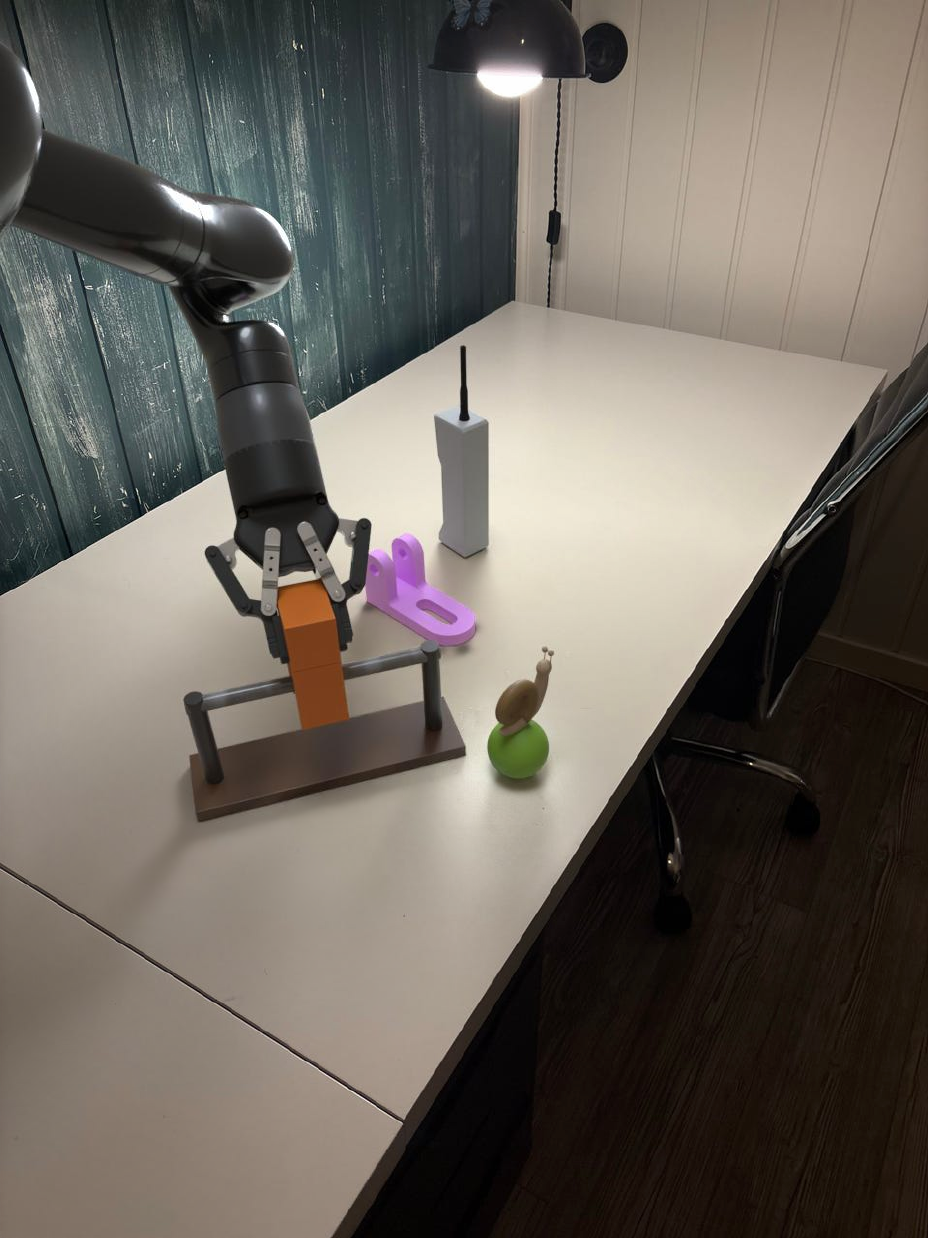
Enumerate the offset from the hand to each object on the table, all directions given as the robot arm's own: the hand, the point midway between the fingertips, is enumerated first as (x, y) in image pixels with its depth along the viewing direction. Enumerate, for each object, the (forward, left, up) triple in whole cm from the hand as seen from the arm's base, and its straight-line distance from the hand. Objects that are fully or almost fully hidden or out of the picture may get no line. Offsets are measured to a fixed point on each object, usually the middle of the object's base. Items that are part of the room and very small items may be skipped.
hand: (314, 655), depth 73 cm
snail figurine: (+15, -7, -14) cm, 22 cm away
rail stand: (0, +2, -14) cm, 14 cm away
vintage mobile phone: (+27, +27, -14) cm, 41 cm away
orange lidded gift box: (0, +2, -7) cm, 7 cm away
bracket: (+17, +17, -14) cm, 28 cm away
